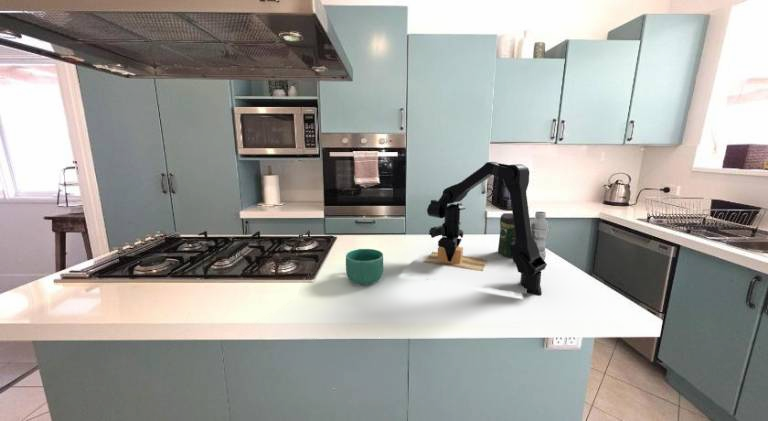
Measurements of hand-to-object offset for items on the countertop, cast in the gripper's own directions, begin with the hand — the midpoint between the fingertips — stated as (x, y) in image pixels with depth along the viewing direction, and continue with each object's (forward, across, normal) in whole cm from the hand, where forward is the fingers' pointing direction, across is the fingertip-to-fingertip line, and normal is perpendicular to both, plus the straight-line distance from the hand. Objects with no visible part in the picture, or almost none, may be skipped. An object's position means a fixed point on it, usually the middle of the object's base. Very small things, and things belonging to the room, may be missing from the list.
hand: (450, 259), depth 119 cm
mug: (+2, +27, -24) cm, 36 cm away
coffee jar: (+2, -17, +21) cm, 27 cm away
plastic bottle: (+2, -17, +31) cm, 35 cm away
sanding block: (0, 0, 0) cm, 0 cm away
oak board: (+2, 0, +2) cm, 3 cm away
